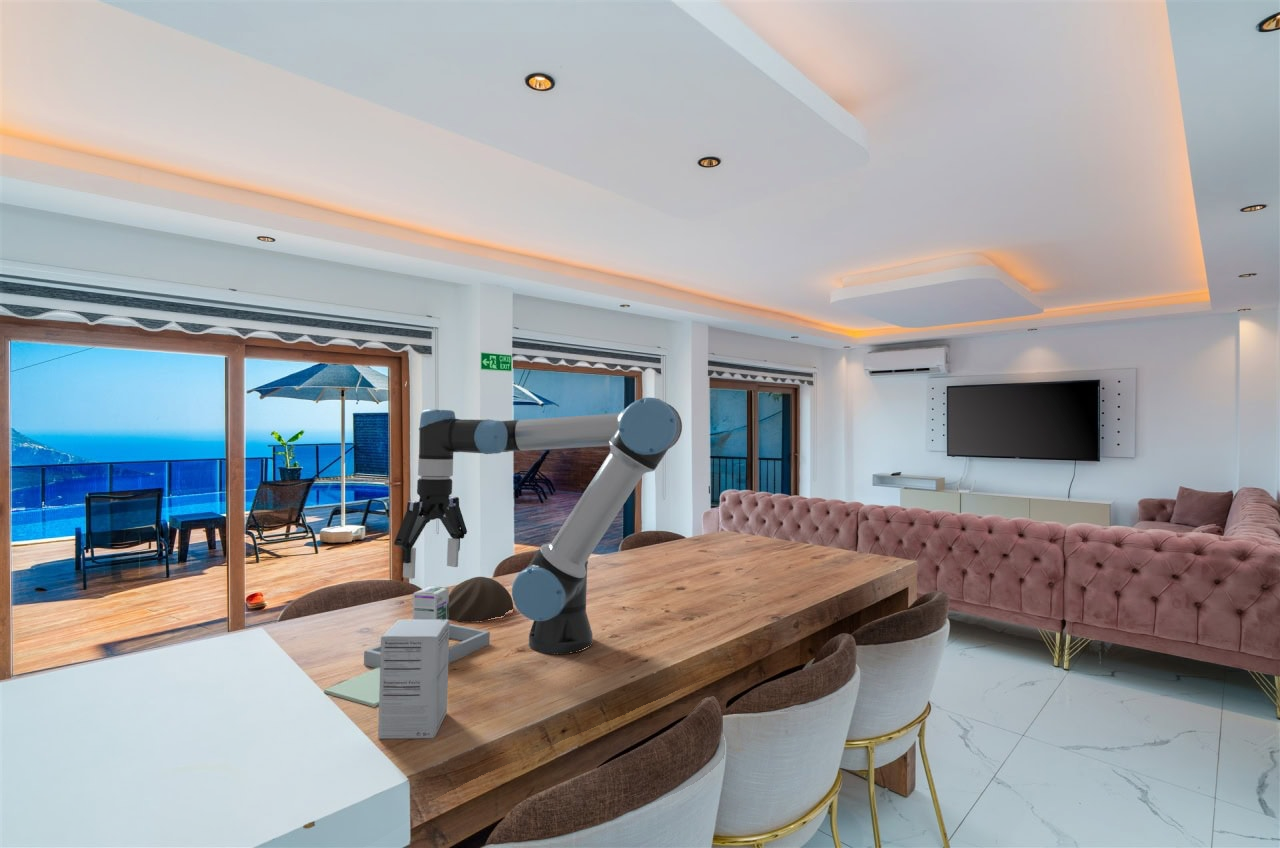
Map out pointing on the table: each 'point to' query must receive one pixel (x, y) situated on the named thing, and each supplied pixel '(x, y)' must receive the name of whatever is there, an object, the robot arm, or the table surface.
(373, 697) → the mat
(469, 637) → the gray rectangular frame
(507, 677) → the table surface
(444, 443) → the robot arm
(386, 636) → the supplement box
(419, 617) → the syrup box
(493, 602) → the decorative dome
